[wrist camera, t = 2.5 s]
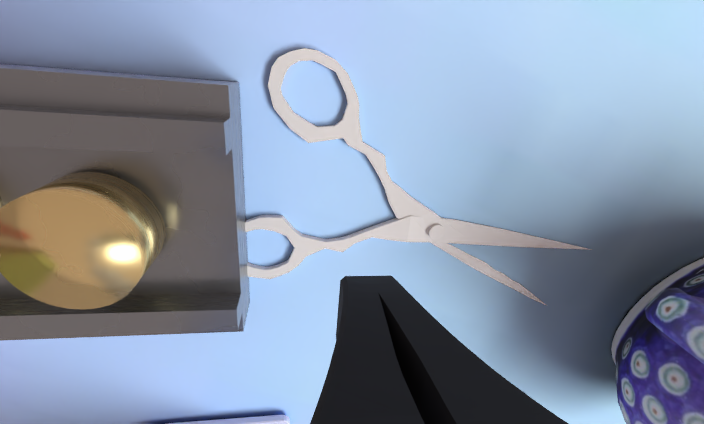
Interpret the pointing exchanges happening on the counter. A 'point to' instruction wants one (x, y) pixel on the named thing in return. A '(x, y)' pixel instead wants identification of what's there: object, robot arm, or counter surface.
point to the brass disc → (80, 240)
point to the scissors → (410, 213)
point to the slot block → (146, 174)
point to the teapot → (663, 352)
